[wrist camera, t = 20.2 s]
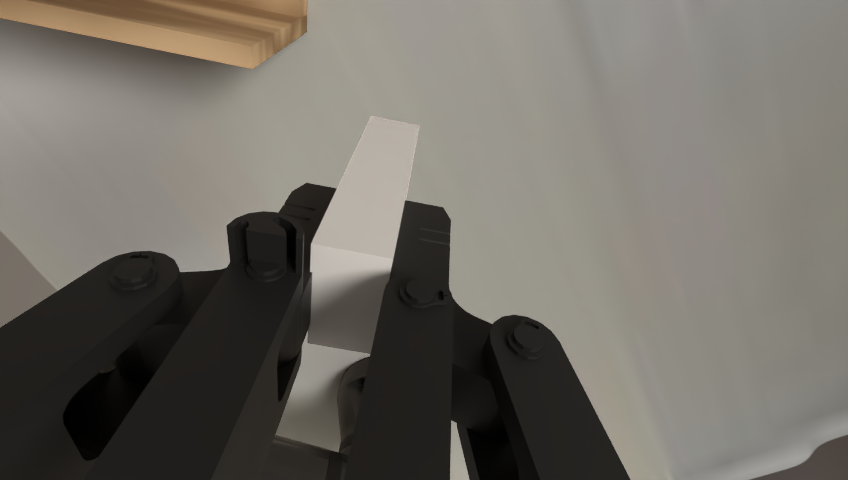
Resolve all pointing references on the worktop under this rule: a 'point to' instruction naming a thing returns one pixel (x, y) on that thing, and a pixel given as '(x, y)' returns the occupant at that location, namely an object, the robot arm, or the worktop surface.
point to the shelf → (176, 24)
